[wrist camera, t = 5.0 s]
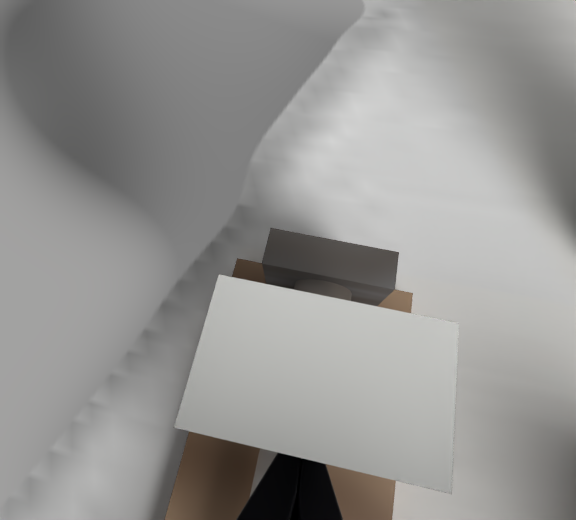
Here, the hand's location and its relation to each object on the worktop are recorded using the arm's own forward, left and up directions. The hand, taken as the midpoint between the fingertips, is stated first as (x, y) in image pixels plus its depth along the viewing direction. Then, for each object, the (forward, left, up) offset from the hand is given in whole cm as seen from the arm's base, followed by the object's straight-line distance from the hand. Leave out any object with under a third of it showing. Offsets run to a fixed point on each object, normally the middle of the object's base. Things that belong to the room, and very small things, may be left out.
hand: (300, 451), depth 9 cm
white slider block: (+2, +1, -7) cm, 7 cm away
